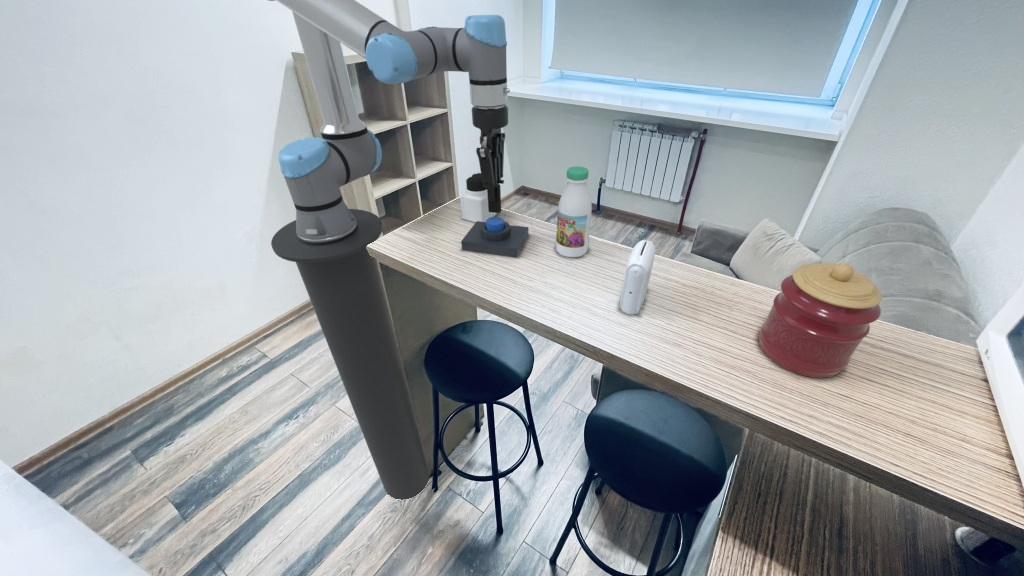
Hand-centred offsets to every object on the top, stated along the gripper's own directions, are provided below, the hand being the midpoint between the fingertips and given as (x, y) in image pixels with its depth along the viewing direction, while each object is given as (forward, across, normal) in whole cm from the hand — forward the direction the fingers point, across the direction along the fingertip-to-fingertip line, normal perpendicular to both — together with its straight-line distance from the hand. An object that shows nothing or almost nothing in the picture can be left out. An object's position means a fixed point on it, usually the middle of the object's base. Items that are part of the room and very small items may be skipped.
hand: (494, 211), depth 97 cm
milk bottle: (+9, +1, -19) cm, 21 cm away
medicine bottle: (+9, +13, +9) cm, 18 cm away
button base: (+9, 0, 0) cm, 9 cm away
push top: (+5, 0, 0) cm, 5 cm away
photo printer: (+9, -15, -34) cm, 38 cm away
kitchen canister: (+9, -23, -62) cm, 67 cm away
